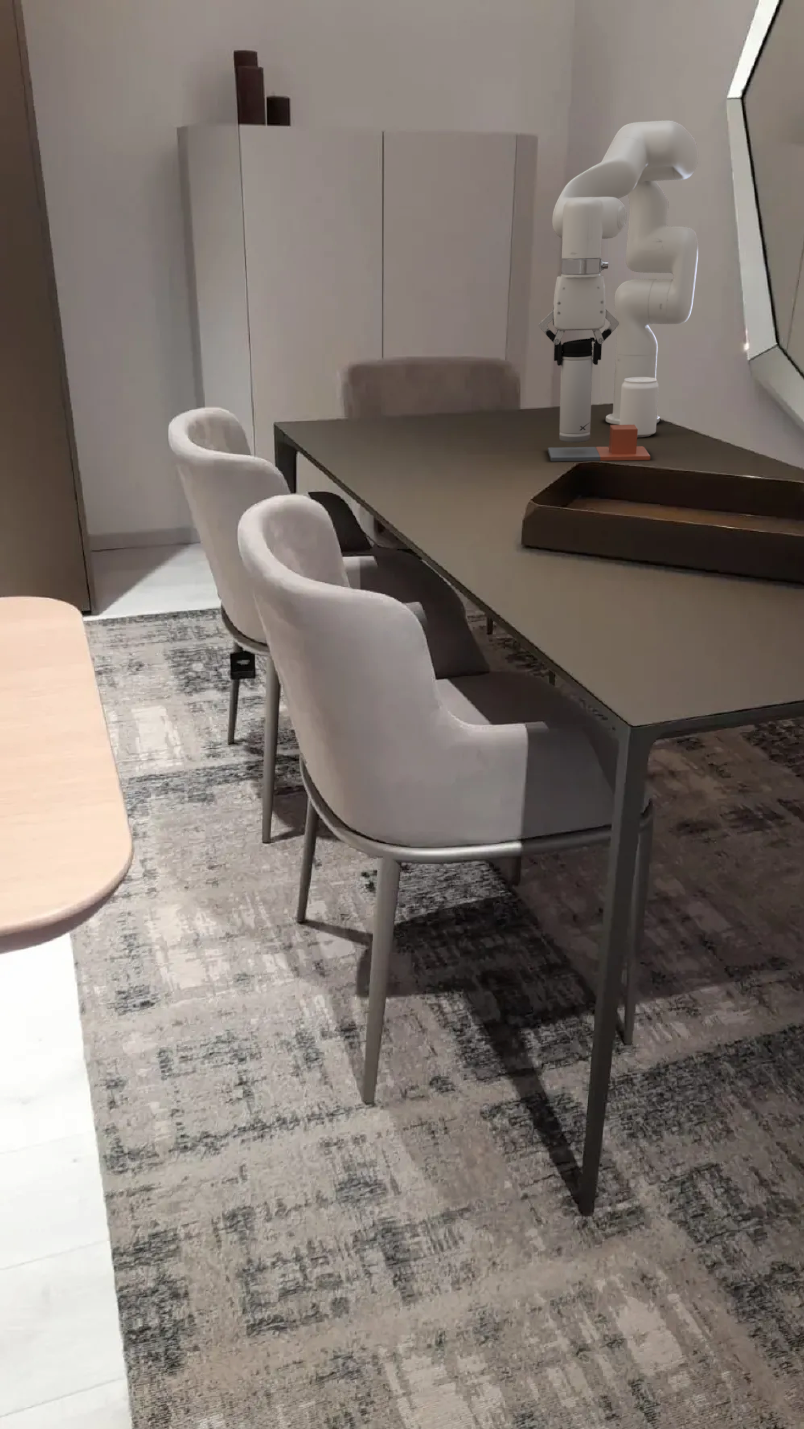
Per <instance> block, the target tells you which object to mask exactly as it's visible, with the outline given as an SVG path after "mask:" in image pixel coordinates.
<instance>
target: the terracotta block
mask: <svg viewBox="0 0 804 1429" xmlns="http://www.w3.org/2000/svg"><path fill="white" fill-rule="evenodd" d="M637 433H638V429H637V428H636V426H635V425H616V424H610V425H609V440H608V441H609V442H608V443H609V444H608V447H609V450H610V452H611V454H636V449H637V446H638V437H637Z"/></svg>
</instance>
